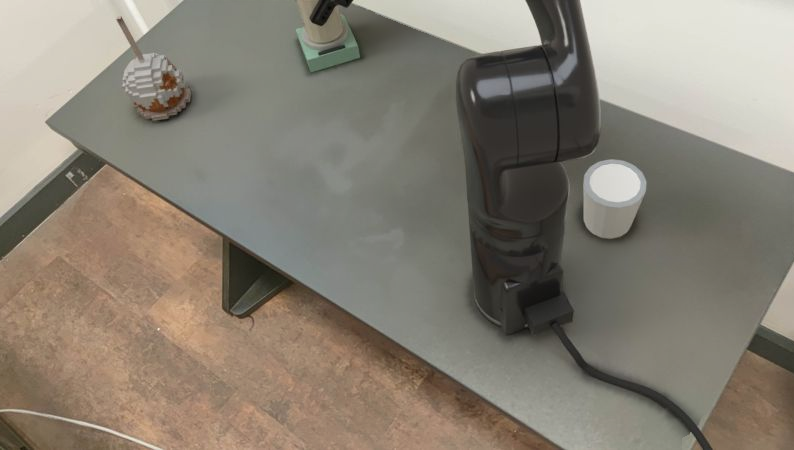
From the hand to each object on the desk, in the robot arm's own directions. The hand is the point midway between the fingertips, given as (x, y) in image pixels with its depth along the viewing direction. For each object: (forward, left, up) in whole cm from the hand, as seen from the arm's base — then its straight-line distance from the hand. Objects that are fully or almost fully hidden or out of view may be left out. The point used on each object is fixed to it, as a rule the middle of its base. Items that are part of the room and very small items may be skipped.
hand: (307, 11), depth 98 cm
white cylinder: (-44, -25, -8) cm, 51 cm away
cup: (0, -2, -4) cm, 5 cm away
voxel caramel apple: (-1, +23, -8) cm, 25 cm away
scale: (0, -2, -8) cm, 8 cm away
